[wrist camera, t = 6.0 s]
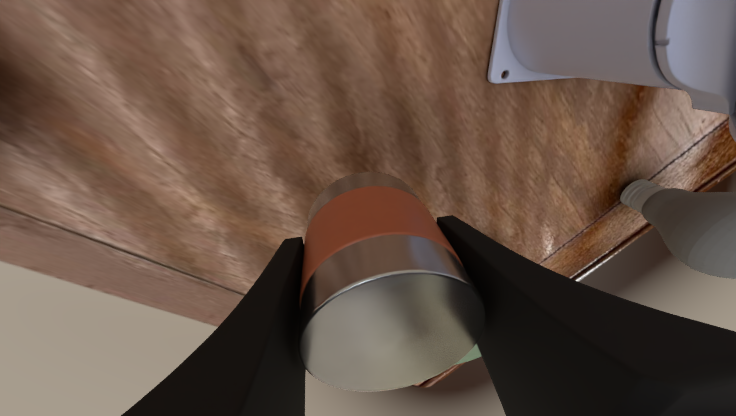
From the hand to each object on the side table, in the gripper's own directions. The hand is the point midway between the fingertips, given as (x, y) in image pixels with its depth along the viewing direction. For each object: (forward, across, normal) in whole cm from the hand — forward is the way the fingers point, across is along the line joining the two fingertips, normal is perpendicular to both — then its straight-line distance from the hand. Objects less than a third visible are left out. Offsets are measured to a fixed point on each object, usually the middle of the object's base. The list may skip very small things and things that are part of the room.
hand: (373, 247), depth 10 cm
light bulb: (+11, -25, +6) cm, 28 cm away
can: (+2, 0, 0) cm, 2 cm away
